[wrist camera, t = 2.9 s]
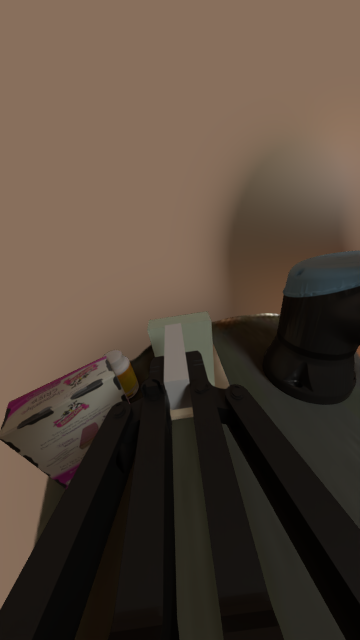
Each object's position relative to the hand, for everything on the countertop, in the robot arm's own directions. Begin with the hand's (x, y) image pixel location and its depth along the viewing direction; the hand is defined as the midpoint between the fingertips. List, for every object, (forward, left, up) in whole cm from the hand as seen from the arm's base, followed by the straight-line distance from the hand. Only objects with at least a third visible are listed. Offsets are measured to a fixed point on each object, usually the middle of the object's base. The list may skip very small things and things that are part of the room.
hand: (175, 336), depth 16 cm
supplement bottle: (+14, -13, -22) cm, 28 cm away
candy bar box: (+14, -1, -22) cm, 26 cm away
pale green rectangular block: (0, -11, -20) cm, 23 cm away
